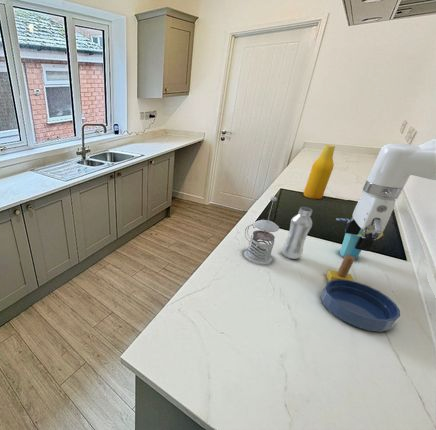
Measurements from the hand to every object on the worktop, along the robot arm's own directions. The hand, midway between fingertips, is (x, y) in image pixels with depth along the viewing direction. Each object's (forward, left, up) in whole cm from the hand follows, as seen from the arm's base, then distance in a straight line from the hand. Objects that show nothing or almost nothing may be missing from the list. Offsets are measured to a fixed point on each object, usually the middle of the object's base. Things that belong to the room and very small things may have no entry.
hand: (355, 241), depth 81 cm
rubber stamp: (0, 0, -16) cm, 16 cm away
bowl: (-1, +13, -16) cm, 20 cm away
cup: (-6, -19, -16) cm, 26 cm away
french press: (+25, -5, -16) cm, 30 cm away
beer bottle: (-5, -82, -16) cm, 84 cm away
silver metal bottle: (+13, -10, -16) cm, 23 cm away
